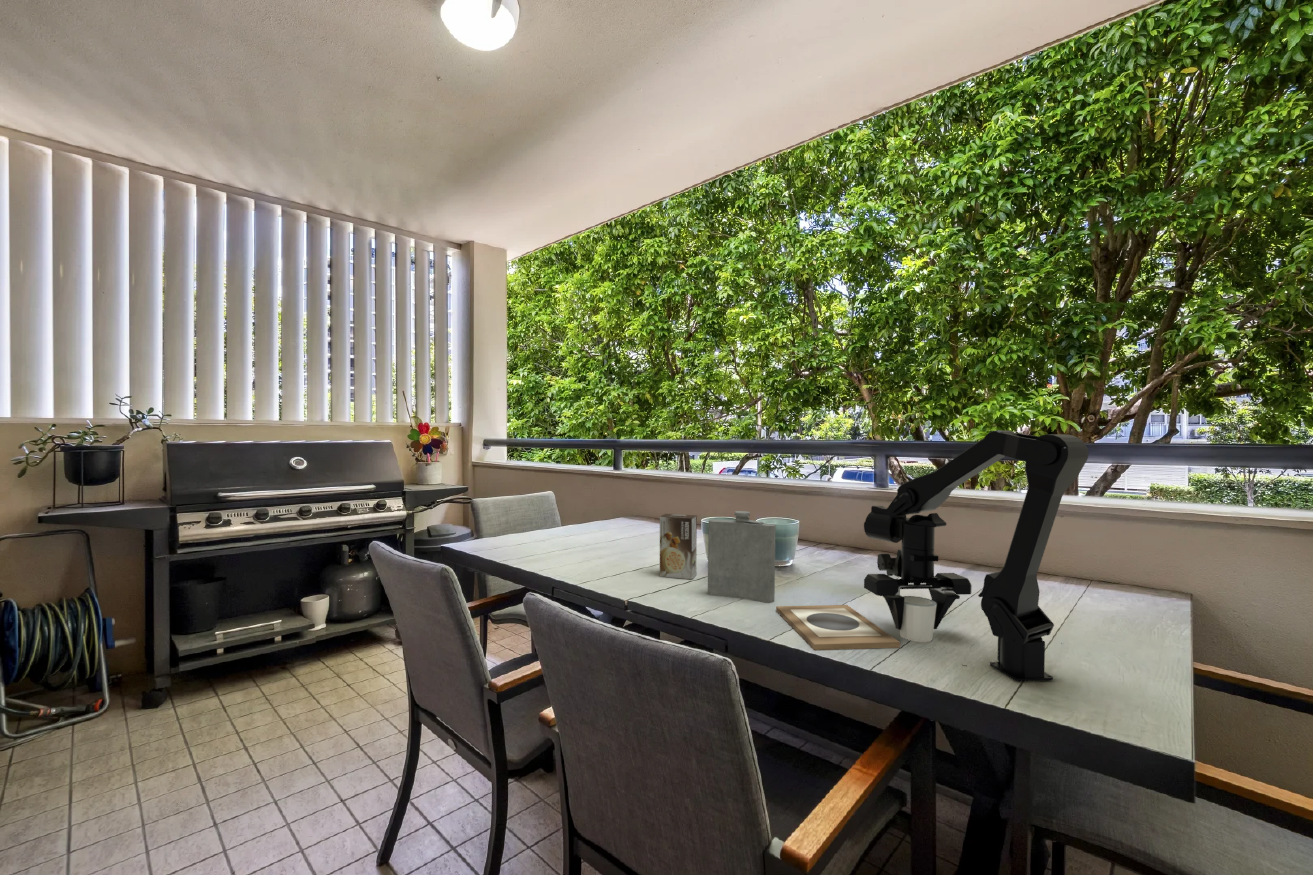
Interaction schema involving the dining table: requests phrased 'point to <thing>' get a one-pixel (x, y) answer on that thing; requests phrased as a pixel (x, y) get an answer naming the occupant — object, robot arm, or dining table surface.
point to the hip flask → (741, 558)
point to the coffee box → (678, 546)
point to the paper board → (835, 627)
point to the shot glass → (918, 619)
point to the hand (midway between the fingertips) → (916, 628)
